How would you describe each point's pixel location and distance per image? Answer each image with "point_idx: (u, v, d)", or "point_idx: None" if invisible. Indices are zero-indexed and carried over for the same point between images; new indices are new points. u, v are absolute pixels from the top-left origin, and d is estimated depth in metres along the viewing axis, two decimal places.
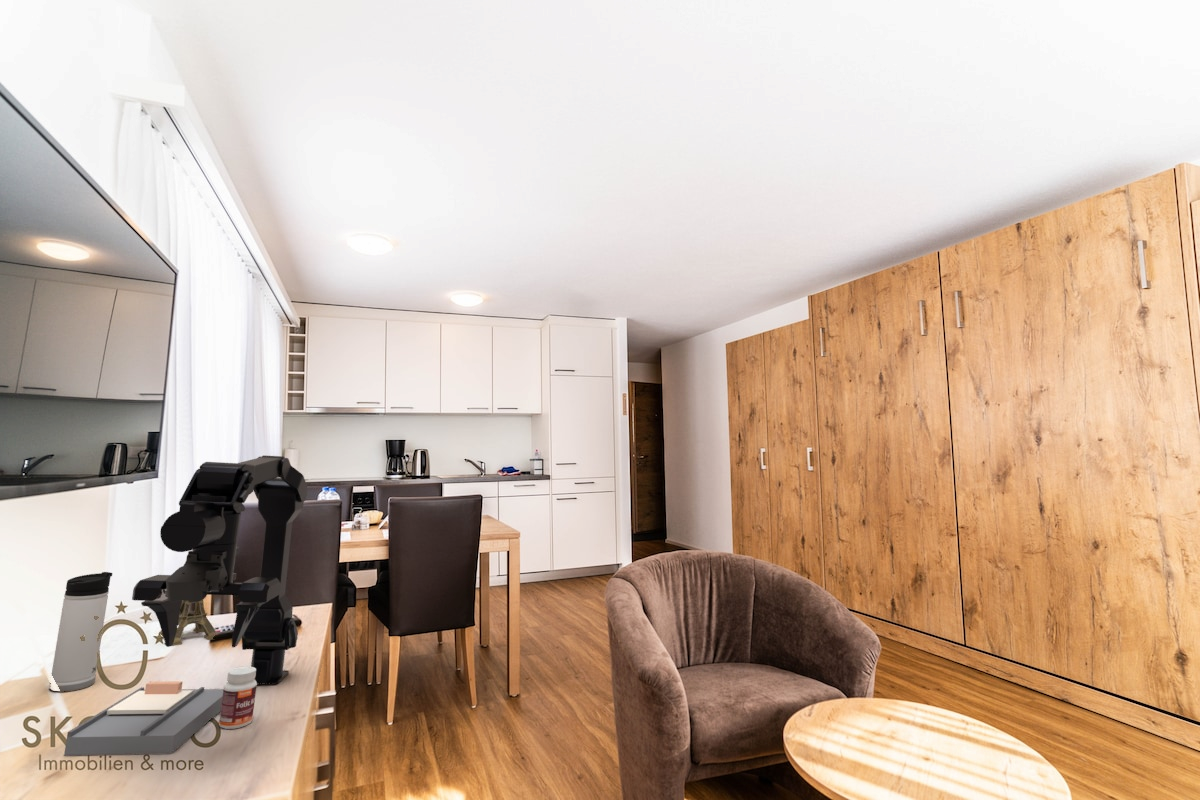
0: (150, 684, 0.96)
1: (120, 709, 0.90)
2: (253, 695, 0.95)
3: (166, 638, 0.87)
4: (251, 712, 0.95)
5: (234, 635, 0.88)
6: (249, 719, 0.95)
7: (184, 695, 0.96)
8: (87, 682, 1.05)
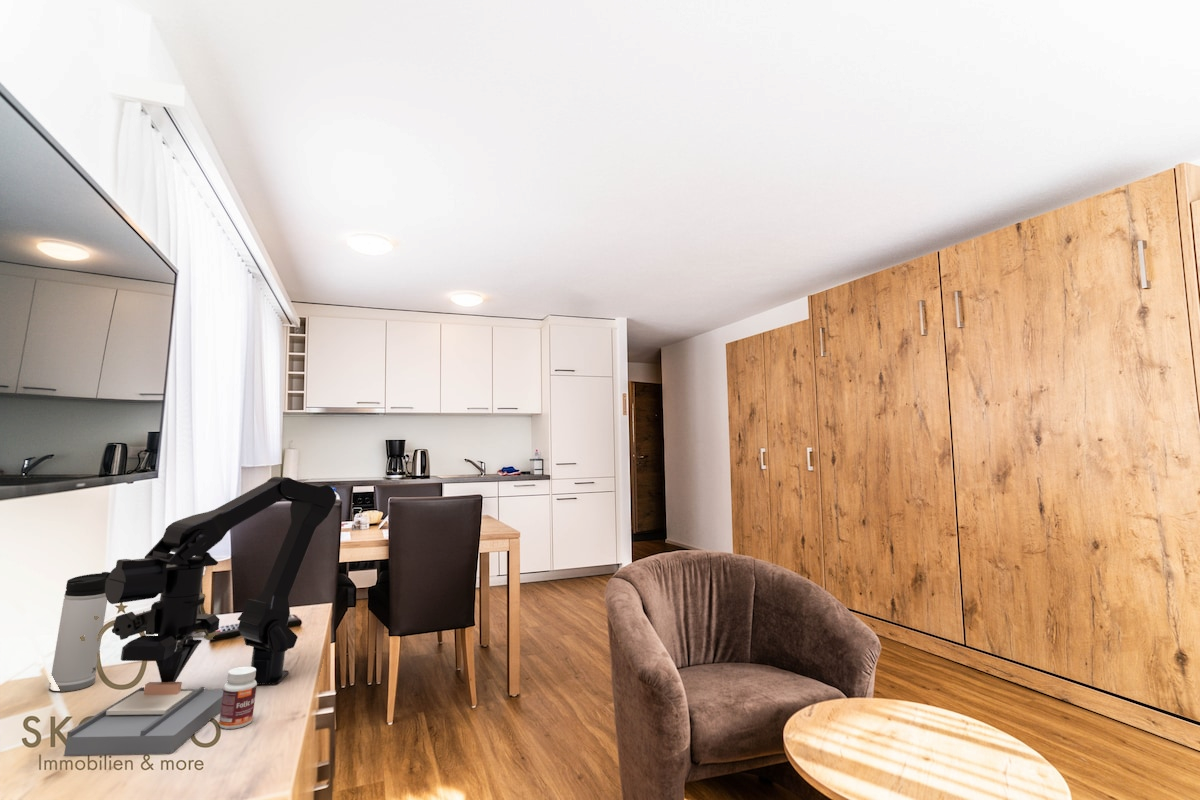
0: (149, 684, 0.96)
1: (119, 710, 0.90)
2: (253, 695, 0.95)
3: None
4: (251, 712, 0.95)
5: None
6: (249, 719, 0.95)
7: (183, 695, 0.96)
8: (87, 682, 1.05)
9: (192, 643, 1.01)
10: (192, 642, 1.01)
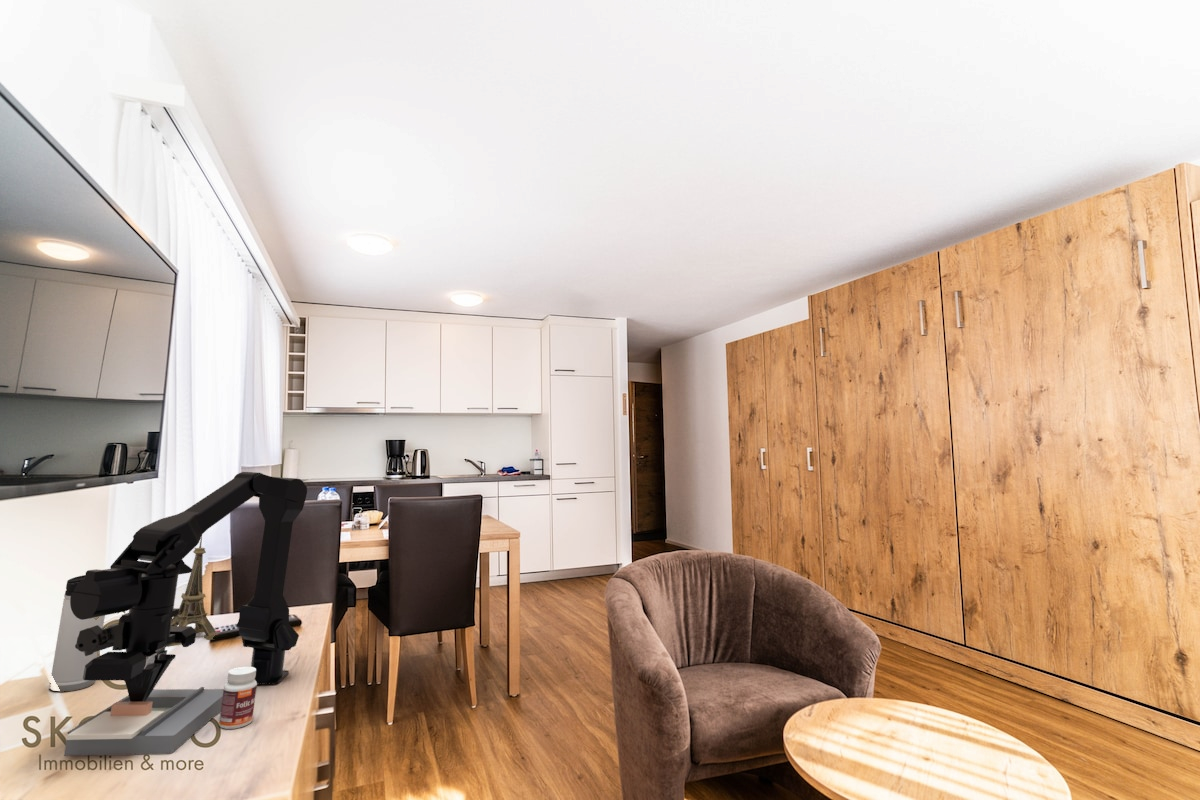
0: (116, 705, 0.88)
1: (81, 734, 0.82)
2: (253, 695, 0.95)
3: None
4: (251, 712, 0.95)
5: None
6: (249, 719, 0.95)
7: (154, 717, 0.88)
8: (87, 682, 1.05)
9: (165, 658, 0.93)
10: (165, 657, 0.93)
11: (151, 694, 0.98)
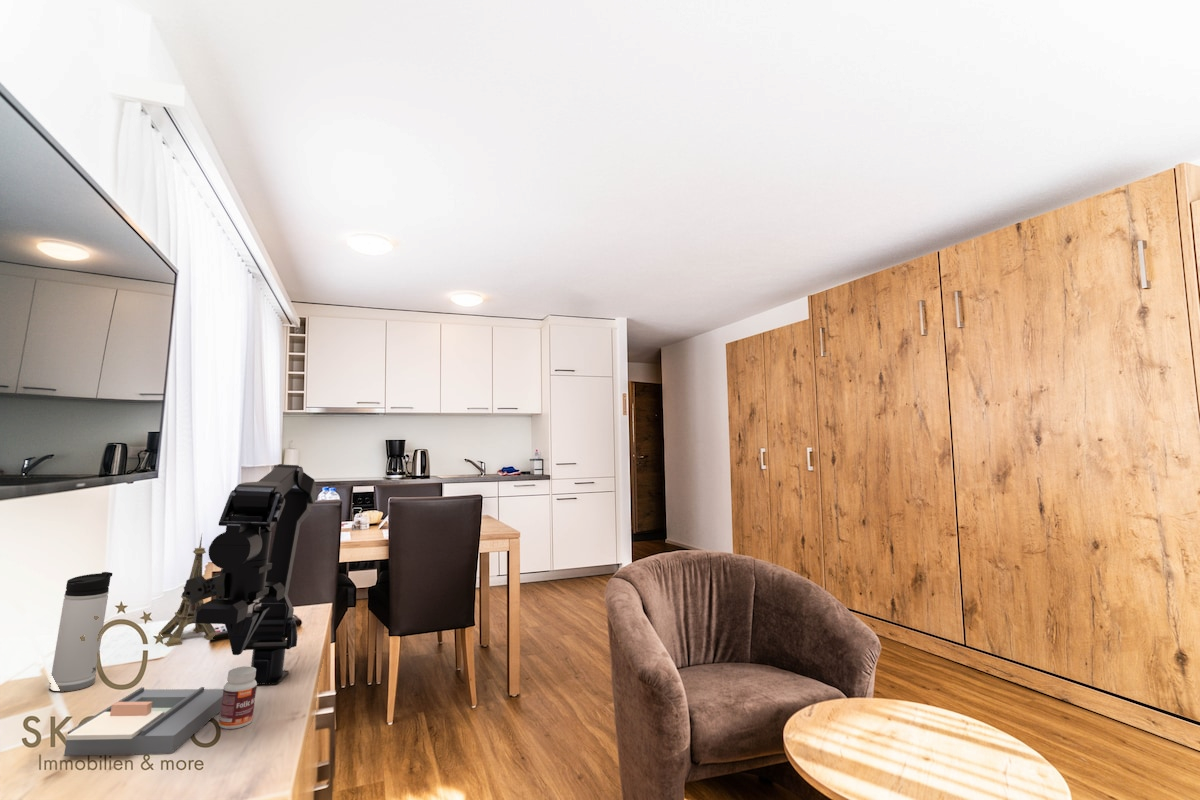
0: (116, 705, 0.88)
1: (80, 734, 0.82)
2: (253, 695, 0.95)
3: None
4: (251, 712, 0.95)
5: None
6: (249, 719, 0.95)
7: (153, 717, 0.88)
8: (87, 682, 1.05)
9: (261, 609, 0.98)
10: (260, 608, 0.99)
11: (151, 694, 0.98)
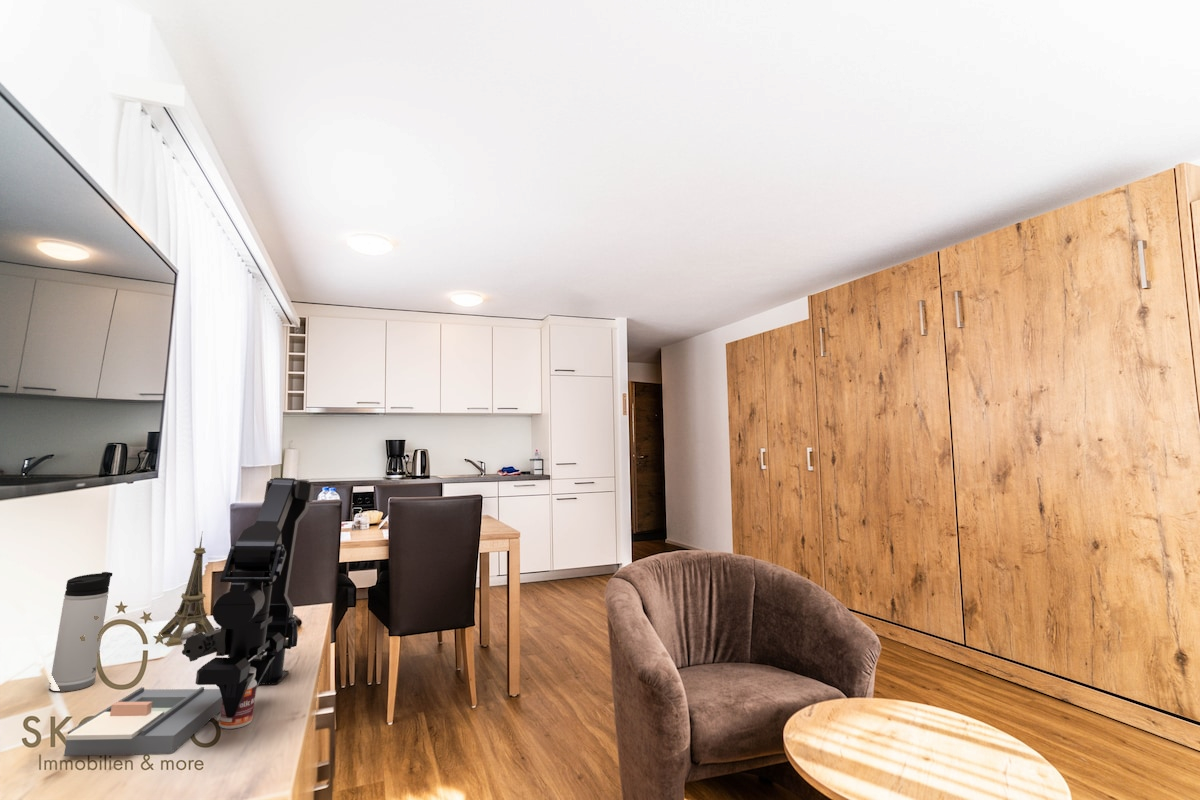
0: (116, 705, 0.88)
1: (80, 734, 0.82)
2: (253, 695, 0.95)
3: None
4: (251, 712, 0.95)
5: None
6: (249, 719, 0.95)
7: (153, 717, 0.88)
8: (87, 682, 1.05)
9: (267, 659, 1.00)
10: (266, 658, 1.00)
11: (151, 694, 0.98)
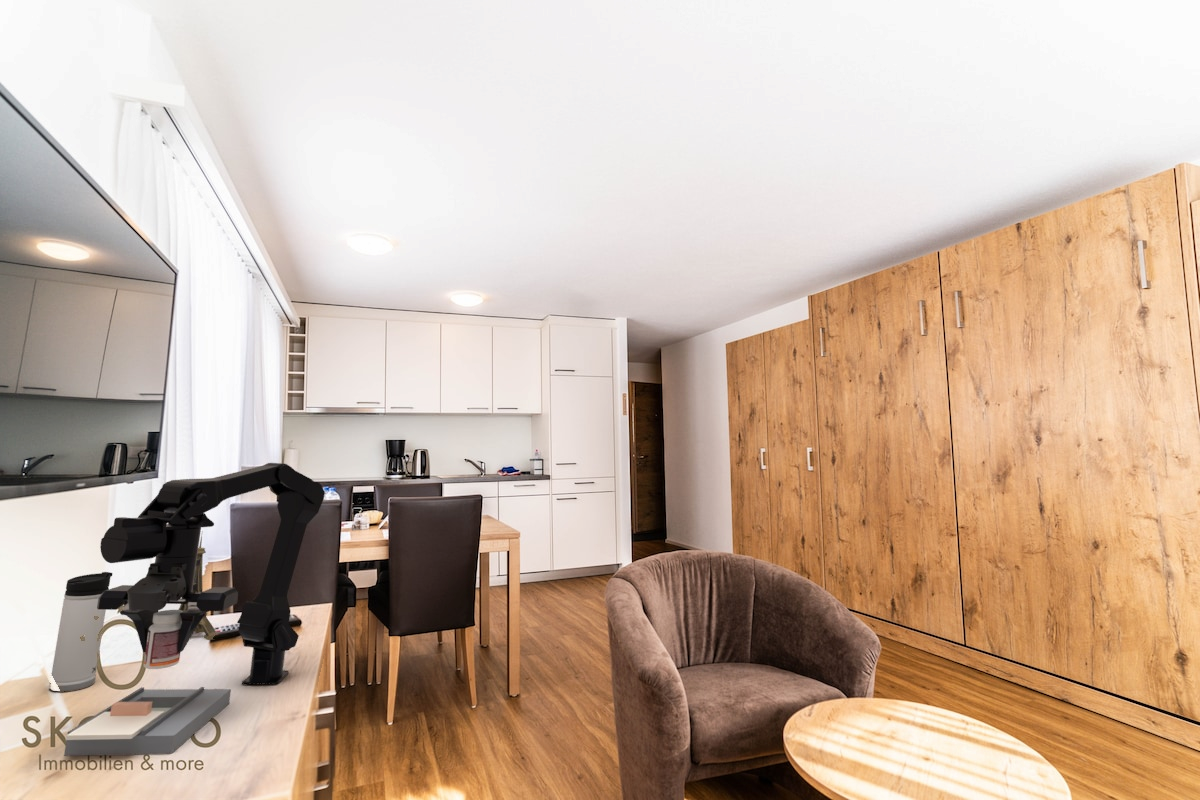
0: (116, 705, 0.88)
1: (80, 734, 0.82)
2: None
3: (143, 644, 0.94)
4: None
5: (179, 641, 0.95)
6: None
7: (153, 717, 0.88)
8: (87, 682, 1.05)
9: None
10: None
11: (151, 694, 0.98)
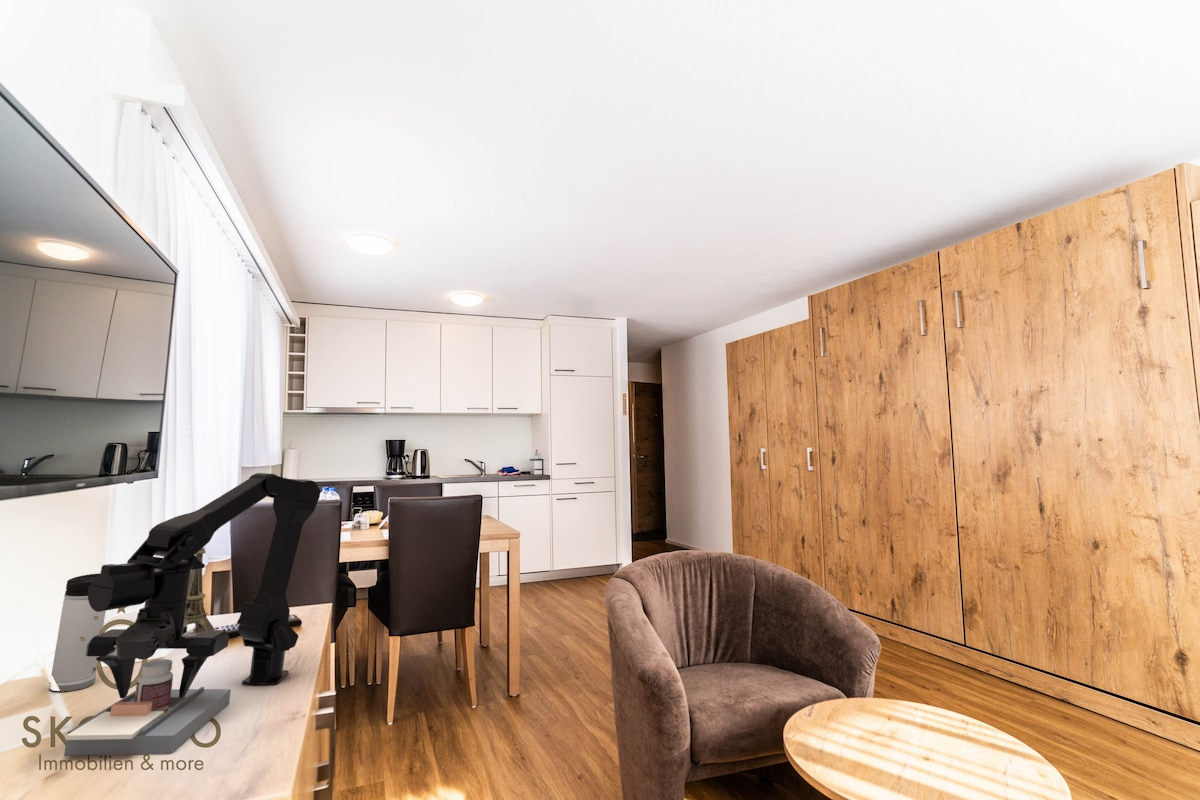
0: (116, 705, 0.88)
1: (80, 734, 0.82)
2: None
3: (120, 690, 0.93)
4: None
5: (181, 686, 0.94)
6: None
7: (153, 717, 0.88)
8: (87, 682, 1.05)
9: None
10: None
11: None
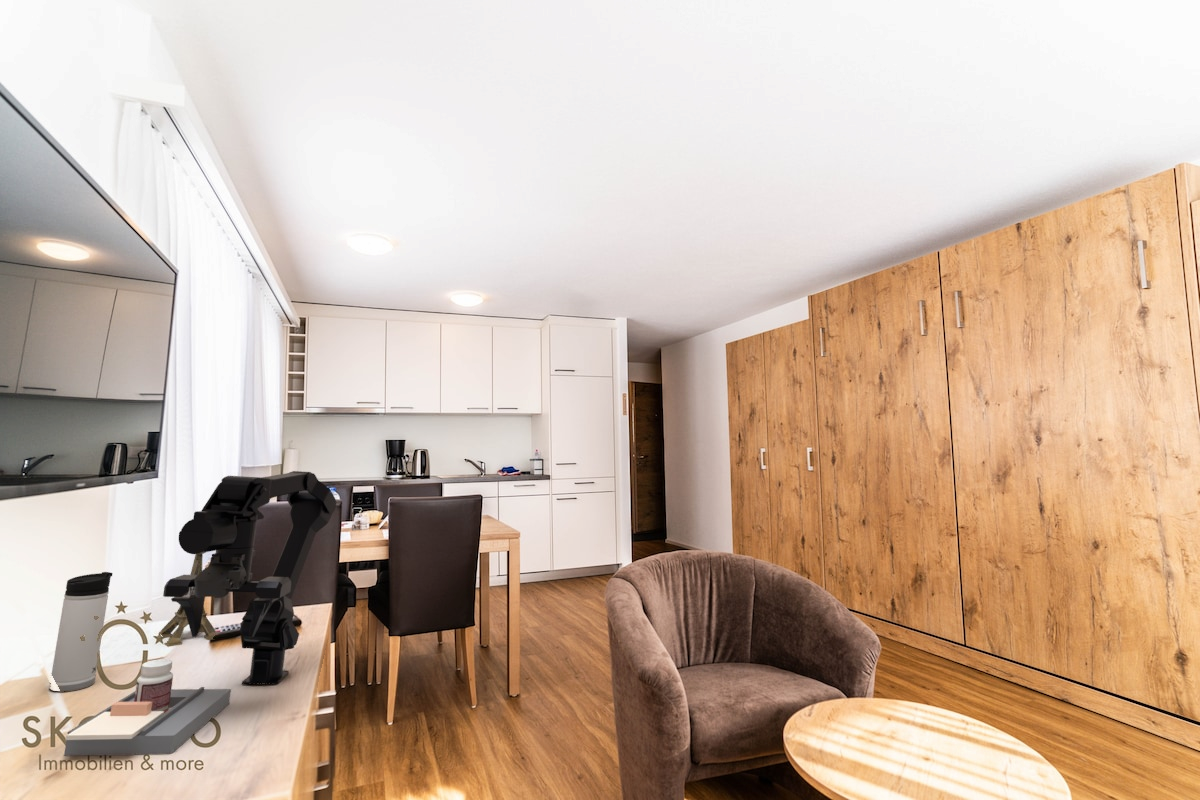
0: (116, 705, 0.88)
1: (80, 734, 0.82)
2: None
3: (192, 629, 1.00)
4: None
5: (251, 627, 1.01)
6: None
7: (153, 717, 0.88)
8: (87, 682, 1.05)
9: None
10: None
11: None
